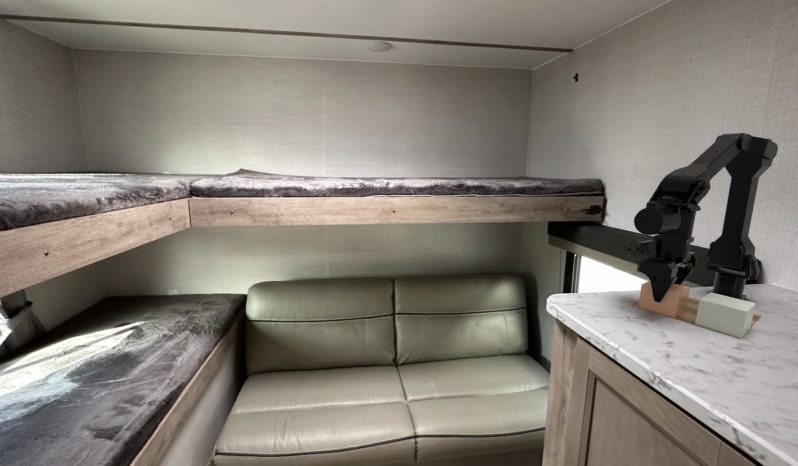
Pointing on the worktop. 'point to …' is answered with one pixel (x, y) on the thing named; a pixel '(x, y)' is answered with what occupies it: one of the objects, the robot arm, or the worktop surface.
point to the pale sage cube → (725, 314)
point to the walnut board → (691, 314)
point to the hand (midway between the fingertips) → (663, 298)
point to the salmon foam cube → (665, 300)
